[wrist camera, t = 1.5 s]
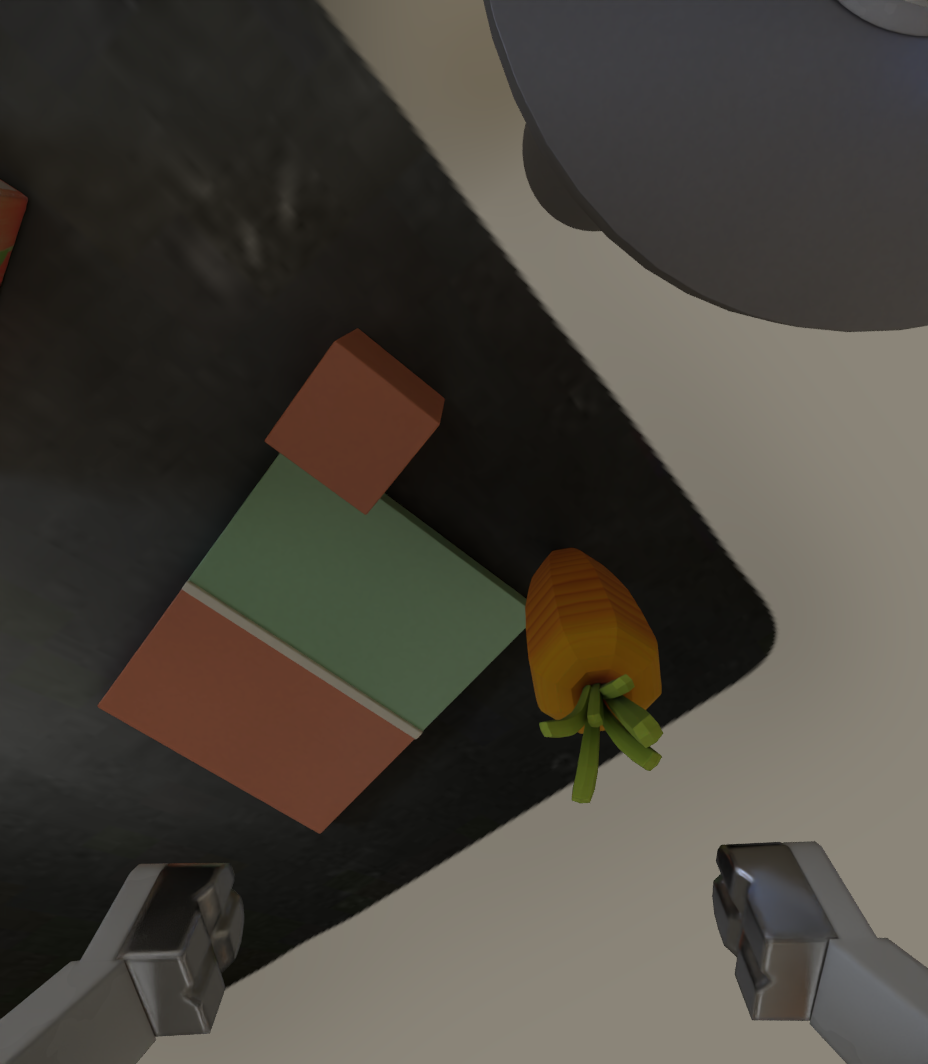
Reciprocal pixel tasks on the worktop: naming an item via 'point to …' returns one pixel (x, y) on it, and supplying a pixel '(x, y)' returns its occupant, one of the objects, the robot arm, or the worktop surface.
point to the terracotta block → (357, 420)
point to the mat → (314, 645)
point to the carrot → (592, 662)
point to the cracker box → (9, 221)
